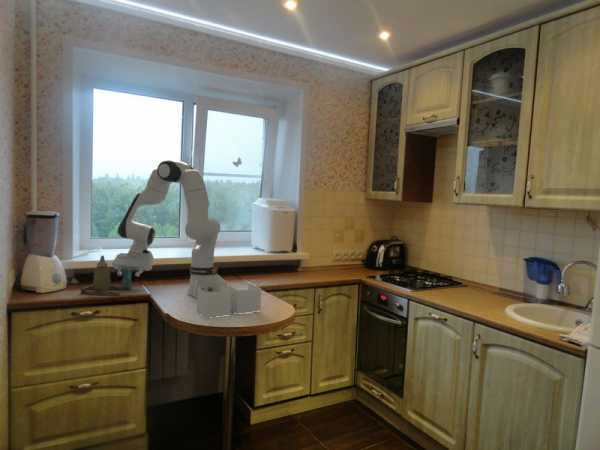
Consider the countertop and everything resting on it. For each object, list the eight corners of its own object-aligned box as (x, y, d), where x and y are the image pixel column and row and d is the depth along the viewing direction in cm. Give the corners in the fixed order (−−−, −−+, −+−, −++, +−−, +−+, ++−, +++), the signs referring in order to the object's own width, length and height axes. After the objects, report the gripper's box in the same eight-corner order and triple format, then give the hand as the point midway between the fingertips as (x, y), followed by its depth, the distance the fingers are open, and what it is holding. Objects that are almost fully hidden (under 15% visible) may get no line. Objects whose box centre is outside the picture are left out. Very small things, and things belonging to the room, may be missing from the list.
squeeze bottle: (114, 290, 201) (115, 255, 200) (100, 294, 194) (101, 257, 193) (103, 288, 205) (103, 254, 204) (89, 291, 197) (89, 255, 196)
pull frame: (132, 288, 207) (133, 268, 206) (118, 295, 192) (118, 274, 191) (98, 286, 208) (98, 266, 207) (80, 293, 193) (81, 272, 192)
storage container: (204, 319, 162) (205, 293, 162) (196, 312, 172) (197, 287, 171) (260, 313, 176) (261, 288, 175) (249, 306, 185) (250, 283, 184)
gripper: (116, 249, 214) (106, 270, 204) (153, 251, 213) (145, 272, 204) (120, 256, 218) (110, 277, 209) (156, 258, 217) (148, 279, 208)
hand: (127, 275), depth 206 cm, fingers open, 8 cm apart
